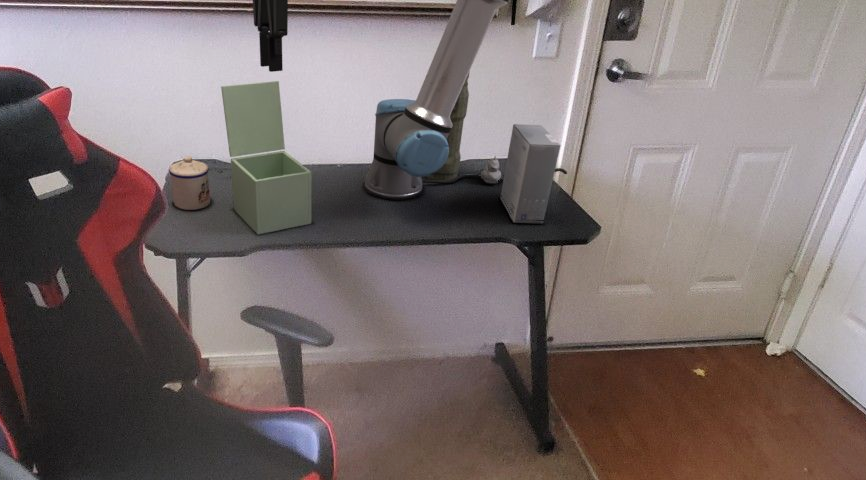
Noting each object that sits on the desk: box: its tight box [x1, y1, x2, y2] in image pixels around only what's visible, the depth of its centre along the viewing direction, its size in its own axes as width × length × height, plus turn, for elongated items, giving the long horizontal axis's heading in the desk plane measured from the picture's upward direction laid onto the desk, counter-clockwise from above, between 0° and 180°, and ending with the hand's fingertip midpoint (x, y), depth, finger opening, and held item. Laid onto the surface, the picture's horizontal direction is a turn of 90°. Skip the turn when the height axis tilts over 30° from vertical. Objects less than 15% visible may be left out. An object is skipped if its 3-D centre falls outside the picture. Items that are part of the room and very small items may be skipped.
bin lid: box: [220, 80, 286, 158], centre depth 153 cm, size 15×14×1 cm
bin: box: [230, 150, 313, 235], centre depth 155 cm, size 15×14×13 cm
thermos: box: [426, 70, 471, 180], centre depth 175 cm, size 9×12×35 cm
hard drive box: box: [499, 123, 562, 224], centre depth 163 cm, size 16×8×20 cm, turn 4°
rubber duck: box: [480, 155, 502, 185], centre depth 181 cm, size 5×7×8 cm
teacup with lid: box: [168, 155, 211, 211], centre depth 160 cm, size 12×9×12 cm
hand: (271, 68), depth 138 cm, fingers open, 4 cm apart
